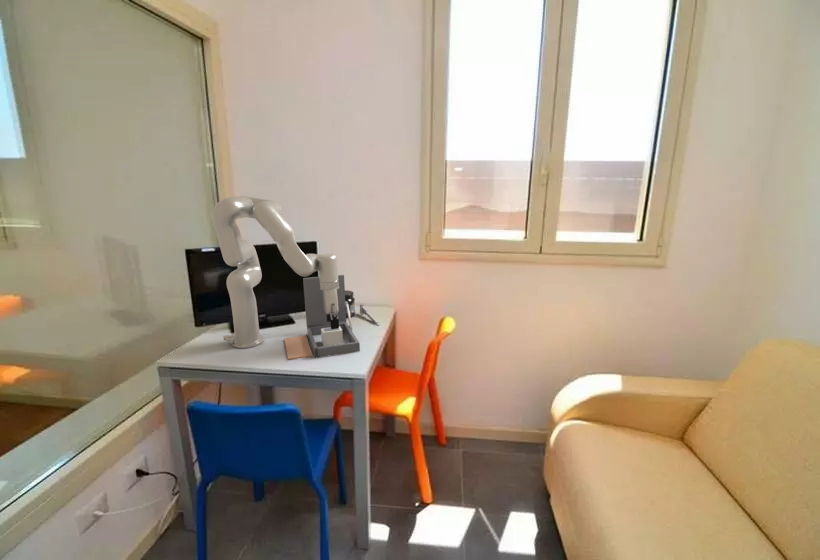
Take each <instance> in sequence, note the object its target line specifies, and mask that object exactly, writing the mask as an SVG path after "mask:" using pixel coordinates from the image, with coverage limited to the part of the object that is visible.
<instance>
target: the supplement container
mask: <svg viewBox="0 0 820 560" xmlns="http://www.w3.org/2000/svg"><path fill="white" fill-rule="evenodd" d="M354 296H355V294H354V291H352V290H349V289H347V290H346V289H345V302H348V306H349V312H350V317H351V318H353V317H354V316H355V315H356V304H355V302H356V298H355V297H354ZM346 319H348V313H347V308H346Z"/></svg>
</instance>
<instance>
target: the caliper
mask: <svg viewBox="0 0 820 560" xmlns="http://www.w3.org/2000/svg"><path fill="white" fill-rule="evenodd" d="M359 315H361V316H364V315H365V316H367V317H368V319H370V320H371V322H373V323H374V324H375V325H376V326H380V323H379V321H378V320H377V319H376V318H375V317H374V316H373V315H372V314H371V313H370V312H369V310H368V309H367V308H366V307H365V306H364V303H363V302H361V303H360V305H359Z"/></svg>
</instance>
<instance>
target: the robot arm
mask: <svg viewBox="0 0 820 560" xmlns="http://www.w3.org/2000/svg"><path fill="white" fill-rule="evenodd" d="M282 209H283V208H282V207H281V205H280V204H279V203H278V202H276V201H274V200H270V199H269V200H268V199H262V198H258V197H252V196H247V195H246V196H245V195H244V196H242V195H240V196H239V195H238V196H228V197H224V198H223V199H221V200H220V201H218V202H217V203H216V204H215V206H214V207H213V209H212V212H211V221H212V223H213V224H212V225H213V227H214V230H215V233H216V237H217V240H218V241H217V242H218V245H219V248H220V252H221V255H222V258H223V261H224V262H225V264H226V265H227V266H230V267H237V268H236V269H234V270H233V271H231V272H230V273H229V274H228V276H227V277H226V282H225V283H226V288H227V291H228V295H229V298H230V299H229V300H230V305H231V312H232V314H231V315H232V320H233V321H232V322H233V330H234V332H233V333H231V335H223V337H222V338H223V341H226V342H231V346H232V347H234V348H236V349H237V348H238V349H247V348H253V347H257V346H259V345H262V344H263V343H264V341H265V338H264V335H260V326H259V325H260V324H259V316H258V315H259V314H258V306H257V299H256V295H255V293H254V290H253V288H254V287H256V286H257V285H258V284H260V283H261V280H262V277H263V274H262V269H261V266H260V265H261V264H260V260H259V257H258V254H257V253H258V252H257V251H256V248H255V246H254V245H253V243H252V242H250V241H249V240H246V239H242V235H241V230H240V229H239V226H238V225H237V222H236V220H238V219H244V218H250V219H255V220H256V222H257V223H258V224H259V225H260V226H261V227H262V228H263V230H264V231H265V232H266V233H267V234H268V235H269V236H270V237H271V239H272V240H273V241H274V243H275V244H276V246H277V248H278V251H279V253H280V255H281V257H283V260H284V261H285V263H287V265H288V266H289V267H290V268H291V269H292V270H293V271H294V272H295V273H296V274H297V275H299V276H301V277H309V276H310V275H311V276H312V274H313V273H315V272H317V271H318V277H319V280H320V289H321V290H323V308H324V311H325V313H326V315H327V322H330V323H331V329H337V328H339V320H338V315H337V313H338V297H337V289H338V288H339V280H338V275H339V270H338V269H339V268H338V267H339V266H338V259H337V255H336V254H333V253H323V254H319V253H306V254H305V253H304V252H303V251H302V250H301V248H300V247H299V245H298V244H297V241H296V237H295V235H296V234H295V230H294V229H293V227H292V226H291V225H290V224H289V222H287V220H286V219H285V218H284V216H282V215H283V210H282Z"/></svg>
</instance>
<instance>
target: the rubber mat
mask: <svg viewBox="0 0 820 560" xmlns="http://www.w3.org/2000/svg"><path fill="white" fill-rule="evenodd" d="M283 339H284V344H285V349H286V353H287V354H286V355H287V360H288V361H290V360H298V358H299V359H305V358H310V356H312V357H313V351H312V348H311V345H310V342H309V339H308V336H307V335H305V334H304V335H298V336H291V337H284V338H283ZM304 357H305V358H304Z"/></svg>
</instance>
